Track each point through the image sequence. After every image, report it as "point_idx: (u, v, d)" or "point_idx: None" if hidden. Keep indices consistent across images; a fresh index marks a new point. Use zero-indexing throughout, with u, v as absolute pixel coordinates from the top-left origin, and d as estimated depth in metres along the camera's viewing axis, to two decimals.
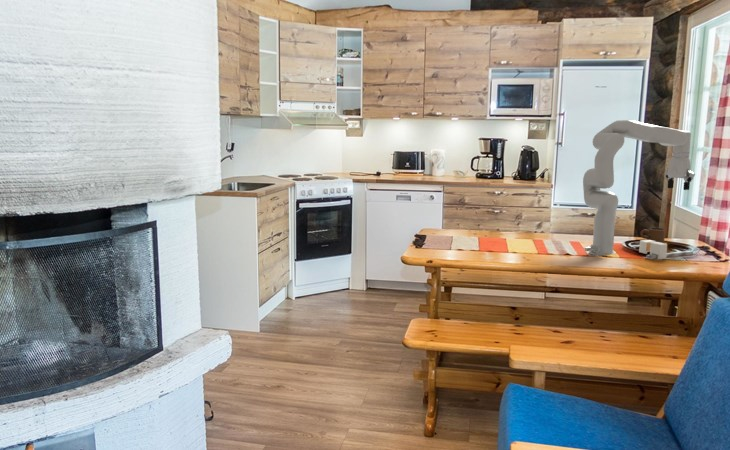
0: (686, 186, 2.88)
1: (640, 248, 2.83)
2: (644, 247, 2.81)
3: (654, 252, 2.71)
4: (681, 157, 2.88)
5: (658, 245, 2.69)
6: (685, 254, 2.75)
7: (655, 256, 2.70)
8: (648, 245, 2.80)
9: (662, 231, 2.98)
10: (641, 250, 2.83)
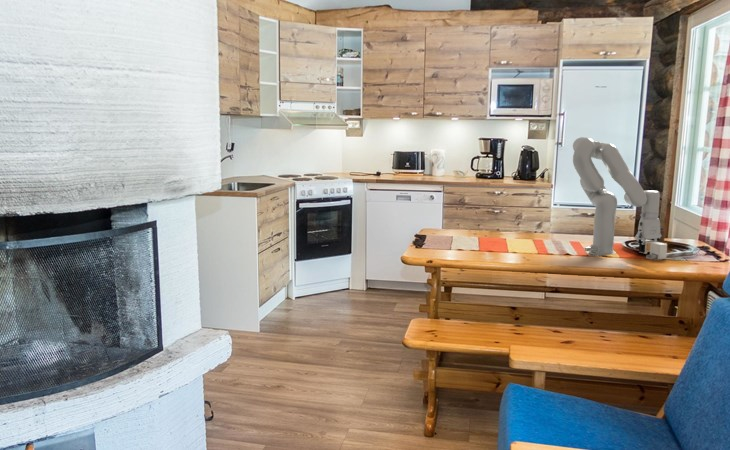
0: None
1: None
2: None
3: (654, 252, 2.71)
4: None
5: (658, 245, 2.69)
6: (685, 254, 2.75)
7: (655, 256, 2.70)
8: (648, 245, 2.80)
9: (662, 231, 2.98)
10: None
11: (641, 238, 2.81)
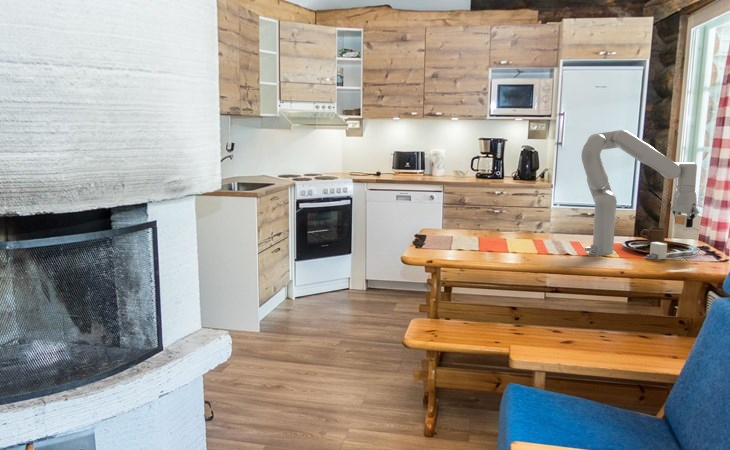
0: (689, 223, 2.69)
1: None
2: None
3: (654, 252, 2.71)
4: (686, 191, 2.67)
5: (658, 245, 2.69)
6: (685, 254, 2.75)
7: (655, 256, 2.70)
8: (676, 218, 2.74)
9: (662, 231, 2.98)
10: None
11: None
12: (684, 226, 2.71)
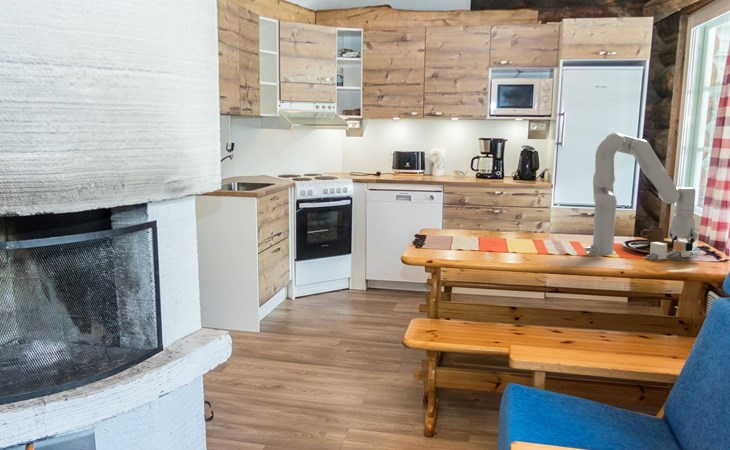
0: (689, 247, 2.70)
1: None
2: None
3: (654, 252, 2.71)
4: (685, 215, 2.69)
5: (658, 245, 2.69)
6: None
7: (655, 256, 2.70)
8: (674, 244, 2.76)
9: (662, 231, 2.98)
10: None
11: None
12: (682, 252, 2.73)
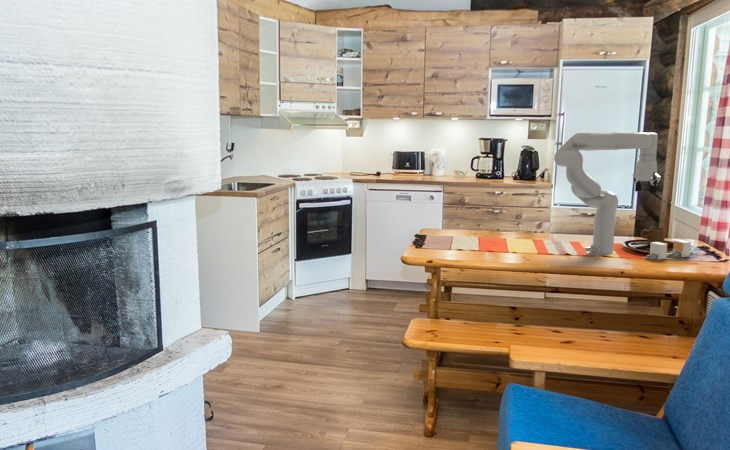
0: (652, 189, 2.80)
1: None
2: None
3: (654, 252, 2.71)
4: (647, 160, 2.80)
5: (658, 245, 2.69)
6: None
7: (655, 256, 2.70)
8: (674, 244, 2.76)
9: (662, 231, 2.98)
10: None
11: None
12: (682, 252, 2.73)
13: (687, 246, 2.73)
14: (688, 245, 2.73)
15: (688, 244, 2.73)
